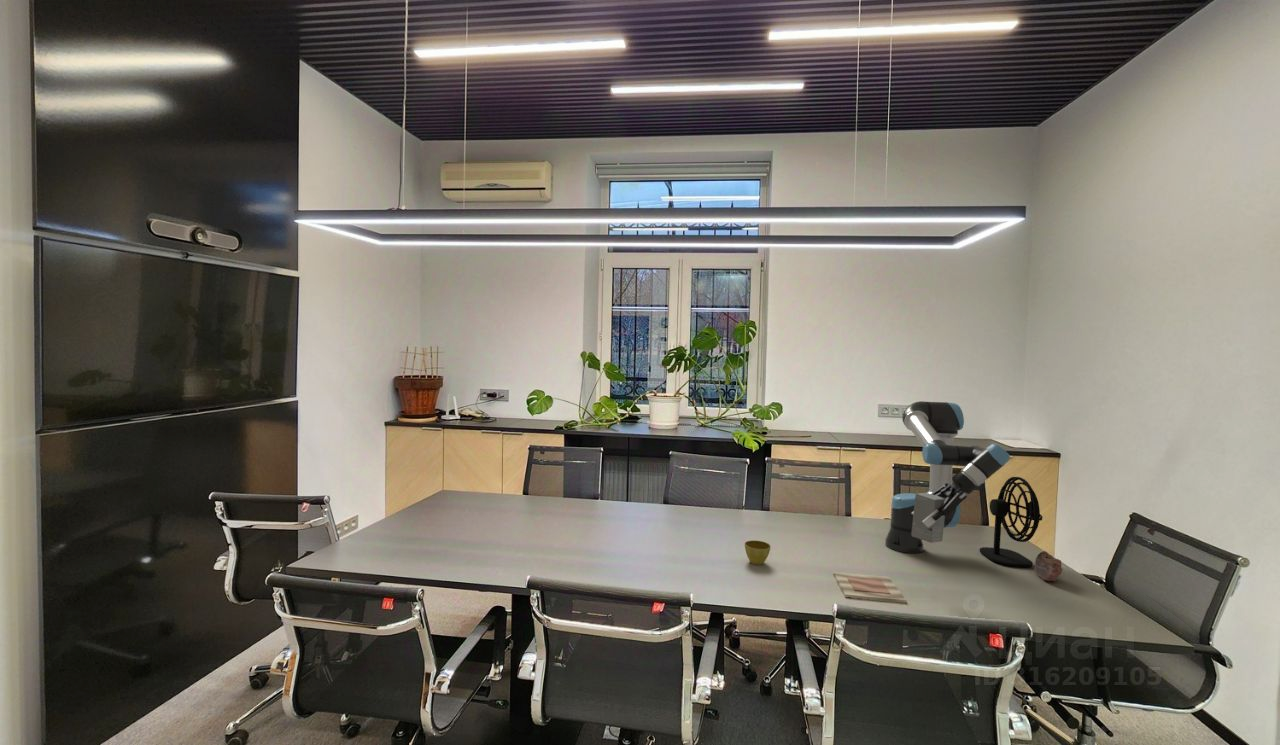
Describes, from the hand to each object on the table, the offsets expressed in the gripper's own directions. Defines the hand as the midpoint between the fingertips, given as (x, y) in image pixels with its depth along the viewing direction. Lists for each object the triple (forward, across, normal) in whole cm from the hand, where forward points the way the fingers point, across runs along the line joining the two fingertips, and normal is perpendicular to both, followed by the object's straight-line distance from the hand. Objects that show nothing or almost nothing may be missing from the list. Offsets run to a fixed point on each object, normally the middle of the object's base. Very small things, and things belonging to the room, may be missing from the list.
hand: (919, 520), depth 199 cm
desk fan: (-18, +40, -54) cm, 70 cm away
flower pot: (+57, +12, +22) cm, 62 cm away
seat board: (+30, -4, -5) cm, 31 cm away
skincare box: (+3, 0, -7) cm, 7 cm away
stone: (-22, +20, -58) cm, 65 cm away
